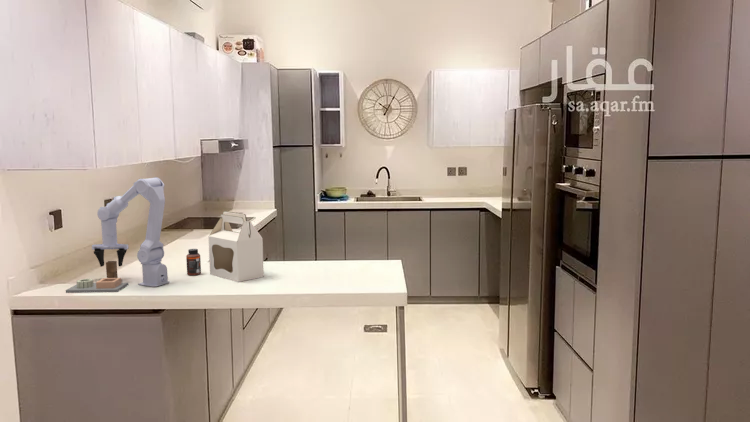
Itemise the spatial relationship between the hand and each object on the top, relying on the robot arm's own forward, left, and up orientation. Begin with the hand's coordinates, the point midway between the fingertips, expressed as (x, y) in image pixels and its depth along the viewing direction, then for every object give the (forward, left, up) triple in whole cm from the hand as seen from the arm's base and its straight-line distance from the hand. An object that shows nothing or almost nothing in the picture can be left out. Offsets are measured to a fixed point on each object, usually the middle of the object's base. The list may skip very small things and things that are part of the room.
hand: (111, 266), depth 243 cm
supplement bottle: (-26, -21, -6) cm, 34 cm away
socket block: (-6, +13, -6) cm, 16 cm away
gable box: (-45, -26, -6) cm, 52 cm away
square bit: (0, 0, -6) cm, 6 cm away
